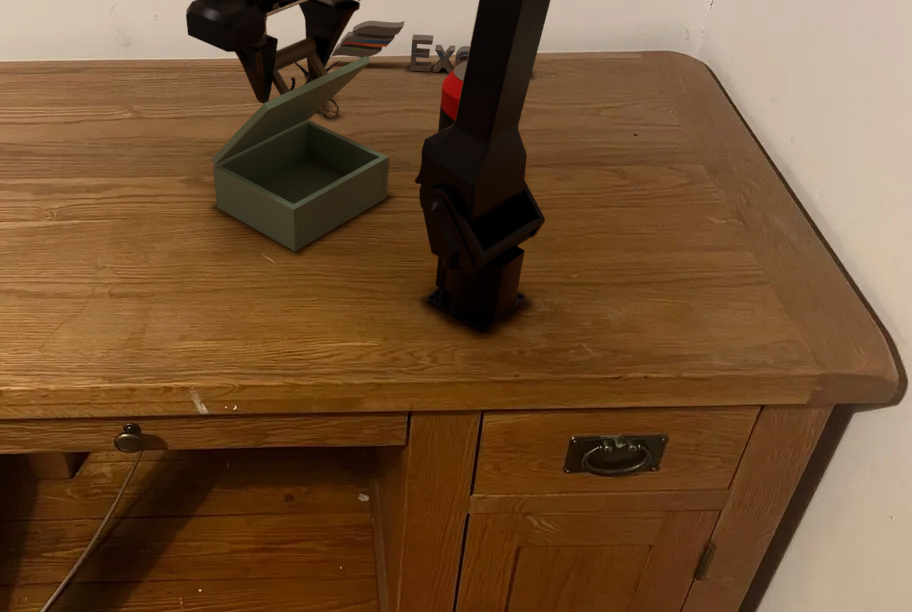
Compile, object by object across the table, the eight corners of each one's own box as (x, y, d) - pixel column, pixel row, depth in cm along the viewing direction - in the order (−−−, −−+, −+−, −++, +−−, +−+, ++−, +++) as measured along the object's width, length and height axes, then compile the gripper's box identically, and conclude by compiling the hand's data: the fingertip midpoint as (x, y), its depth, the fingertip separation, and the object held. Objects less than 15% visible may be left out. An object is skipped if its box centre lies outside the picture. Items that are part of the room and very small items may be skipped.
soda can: (435, 201, 94) (446, 89, 86) (431, 163, 99) (440, 55, 91) (509, 201, 94) (527, 89, 85) (501, 164, 99) (517, 55, 91)
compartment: (386, 197, 95) (389, 156, 91) (294, 251, 88) (293, 209, 85) (308, 159, 100) (308, 119, 97) (216, 207, 94) (212, 166, 90)
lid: (371, 61, 87) (344, 15, 86) (268, 110, 80) (238, 60, 79) (309, 118, 97) (285, 77, 96) (214, 165, 90) (187, 121, 89)
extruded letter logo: (331, 66, 117) (331, 21, 113) (332, 61, 118) (333, 16, 114) (529, 77, 114) (536, 32, 110) (529, 72, 115) (536, 27, 111)
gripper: (295, -132, 85) (298, 37, 95) (133, -85, 75) (158, 96, 86) (385, -108, 79) (378, 68, 90) (223, -53, 70) (237, 136, 80)
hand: (289, 90), depth 87 cm, fingers open, 6 cm apart
